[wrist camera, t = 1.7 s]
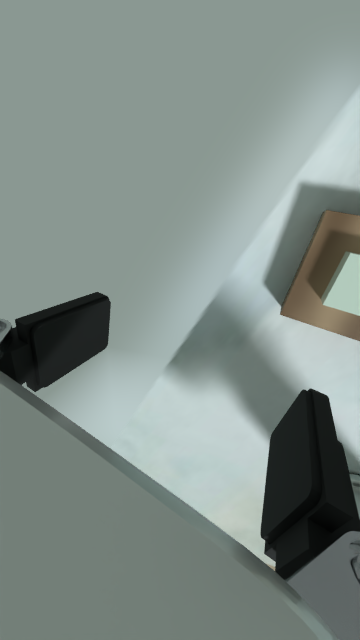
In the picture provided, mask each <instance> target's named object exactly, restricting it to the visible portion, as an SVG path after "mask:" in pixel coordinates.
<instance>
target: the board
mask: <svg viewBox="0 0 360 640" xmlns="http://www.w3.org/2000/svg"><path fill="white" fill-rule="evenodd" d="M346 251H348V252H352V253H357V254H360V216H358V215H352V214H346V213H340V212H335V211H329V210H326V211H324V212H323V214H322V216H321V218H320V221H319V223H318V225H317V227H316V230H315V232H314V234H313V236H312V239H311V241H310V243H309V246H308V248H307V250H306V252H305V255H304V257H303V259H302V261H301V264H300V266H299V268H298V270H297V273H296V275H295V277H294V280H293V282H292V284H291V286H290V289H289V291H288V293H287V295H286V298H285V300H284V302H283V304H282V307H281V313H280V315H283V316H286V317H289V318H292V319H295V320H298V321H301V322H304V323H307V324H310V325H313V326H316V327H319V328H322V329H325V330H328V331H331V332H334V333H337V334H340V335H343V336H346V337H349V338H352V339H355V340H358V341H360V316H358V315H355V314H352V313H348V312H345V311H342V310H338V309H335V308H332V307H328V306H325V305H323V304H322V302H321V298H322V296H323V294H324V292H325V290H326V288H327V286H328V284H329V282H330V281H331V279H332V277H333V275H334V273H335V271H336V269H337V267H338V265H339V263H340V262H341V260H342V258H343V256H344V254H345V252H346Z"/></svg>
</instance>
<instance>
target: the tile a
mask: <svg viewBox="0 0 360 640" xmlns="http://www.w3.org/2000/svg"><path fill="white" fill-rule="evenodd" d="M321 302H322V304H323V305H325V306H328V307H332V308H335V309H338V310H342V311H345V312H348V313H352V314H355V315H358V316H360V254H357V253H352V252H348V251H346V252H345V254H344V256H343V258H342V260H341V262H340V263H339V265H338V267H337V269H336V271H335V273H334V275H333V277H332V279H331V281H330V282H329V284H328V286H327V288H326V290H325V292H324V294H323V296H322V298H321Z"/></svg>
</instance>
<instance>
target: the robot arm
mask: <svg viewBox="0 0 360 640" xmlns="http://www.w3.org/2000/svg"><path fill="white" fill-rule="evenodd" d="M110 304H111V302H110V301H109V298H108V297H107V296H105V295H103V294H101V293H99V292H95V293H92V294H89V295H86V296H84V297H80V298H77V299H74V300H72V301H68V302H66V303H63V304H60V305H57V306H54V307H51V308H48V309H45V310H42V311H39V312H36V313H33V314H30V315H27V316H24V317H21V318H18V319H16V320H15V322H16V327H15V328H12V325H11V323H10V322H9V321H7V320H4V319H0V640H360V476H359V475H354V474H349V470H348V466H347V461H346V457H345V453H344V448H343V446H342V444H341V443H340V442H339V441H338V440H337V436H336V431H335V426H334V421H333V416H332V412H331V407H330V402H329V398H328V396H327V395H324V394H322V393H320V392H318V391H316V390H313V389H309V390H308V391H306V390H302V391H301V392H300V394H299V395H298V397H297V398H296V400H295V401H294V402H293V404H292V405H291V407H290V408H289V410H288V411H287V413H286V414H285V415H284V417H283V418H282V420H281V421H280V423H279V424H278V425H277V427H276V428H275V430H274V431H273V433H272V435H271V439H270V447H269V456H268V466H267V475H266V485H265V494H264V504H263V513H262V523H261V538H263V539H264V540H265V551H264V554H265V555H267V556H268V557H270V558H271V559H273V560H274V561H275V562H276V567H275V568H276V569H275V571H274V570H273V569H271V568H270V567H269V566H268V565H266V564H265V563H264V562H263V561H261V560H260V559H259V558H258V557H257V556H255V555H254V554H253V553H252V552H250V551H249V550H248V549H247V548H246V547H244V546H243V545H242V544H240V543H239V542H238V541H236V540H235V539H234V538H232V537H231V536H230V535H228V534H227V533H226V532H224V531H223V530H222V529H220V528H219V527H218V526H216V525H215V524H214V523H212V522H211V521H210V520H208V519H207V518H205V517H204V516H203V515H201V514H200V513H199V512H197V511H196V510H195V509H193V508H192V507H191V506H189V505H188V504H187V503H185V502H184V501H182V500H181V499H180V498H178V497H177V496H176V495H174V494H173V493H171V492H170V491H169V490H167V489H166V488H164V487H163V486H162V485H160V484H159V483H157V482H156V481H155V480H153V479H152V478H151V477H149V476H148V475H146V474H145V473H144V472H142V471H141V470H139V469H138V468H137V467H135V466H134V465H132V464H131V463H130V462H128V461H127V460H126V459H124V458H123V457H121V456H120V455H119V454H117V453H116V452H114V451H113V450H112V449H110V448H109V447H107V446H106V445H105V444H103V443H101V442H100V441H99V440H98V439H96V438H95V437H93V436H92V435H91V434H89V433H88V432H86V431H85V430H84V429H82V428H81V427H79V426H78V425H76V424H75V423H74V422H72V421H71V420H69V419H68V418H67V417H65V416H64V415H62V414H61V413H60V412H58V411H57V410H55V409H54V408H53V407H51V406H50V405H48V404H47V403H45V402H44V401H43V400H41V399H40V398H38V397H37V396H35V395H34V394H33V393H31V392H30V391H28V390H27V389H25V388H24V387H23V386H22V384H23V383H25V382H26V383H27V387H29V388H30V389H32V390H33V391H34V392H36V391H38V390H39V389H41V388H42V387H47V386H49V385H50V384H52V383H53V382H55V381H56V380H58V379H60V378H61V377H63V376H64V375H66V374H67V373H69V372H70V371H72V370H73V369H75V368H76V367H78V366H80V365H81V364H82V363H84V362H86V361H87V360H89V359H90V358H92V357H93V356H95V355H96V354H98V353H99V352H101V351H102V350H104V349H105V348H106V347H107V345H108V336H109V320H110Z"/></svg>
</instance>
